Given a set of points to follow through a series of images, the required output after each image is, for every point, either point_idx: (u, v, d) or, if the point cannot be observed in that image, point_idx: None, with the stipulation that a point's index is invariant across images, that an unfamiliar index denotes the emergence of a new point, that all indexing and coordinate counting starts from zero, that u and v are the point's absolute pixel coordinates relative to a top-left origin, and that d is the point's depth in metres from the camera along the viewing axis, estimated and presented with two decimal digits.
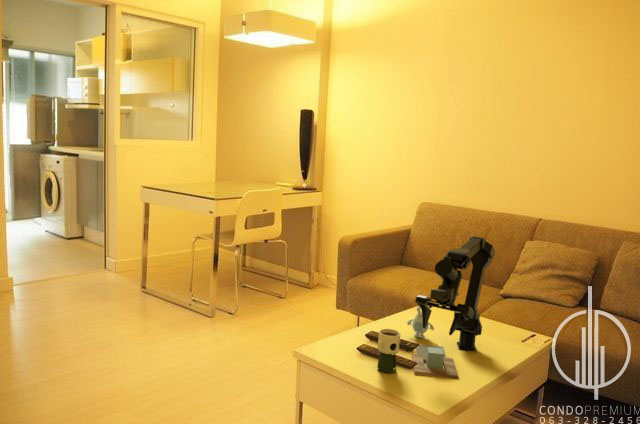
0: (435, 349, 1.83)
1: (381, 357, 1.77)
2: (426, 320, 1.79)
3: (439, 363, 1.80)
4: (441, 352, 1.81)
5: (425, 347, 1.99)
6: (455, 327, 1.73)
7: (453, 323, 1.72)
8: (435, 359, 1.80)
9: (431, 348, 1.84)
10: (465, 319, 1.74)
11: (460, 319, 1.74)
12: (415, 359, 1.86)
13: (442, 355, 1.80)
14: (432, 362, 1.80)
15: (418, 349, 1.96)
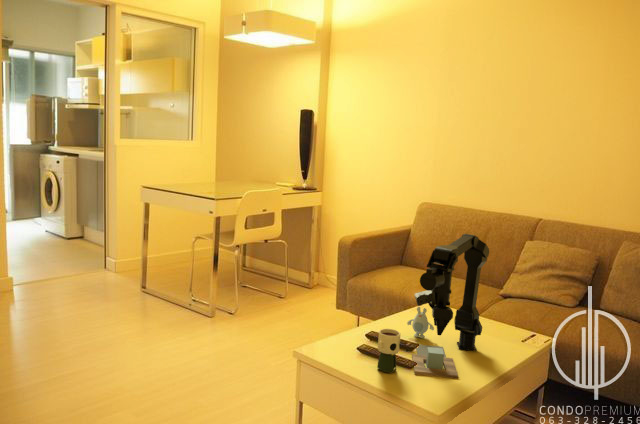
0: (435, 349, 1.83)
1: (381, 357, 1.77)
2: None
3: (439, 363, 1.80)
4: (441, 352, 1.81)
5: (425, 347, 1.99)
6: (440, 327, 1.75)
7: (436, 324, 1.76)
8: (435, 359, 1.80)
9: (431, 348, 1.84)
10: None
11: (444, 319, 1.74)
12: (415, 359, 1.86)
13: (442, 355, 1.80)
14: (432, 362, 1.80)
15: (418, 349, 1.96)
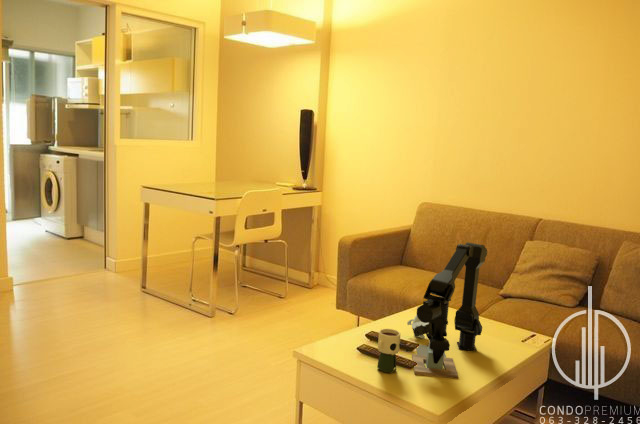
0: None
1: (381, 357, 1.77)
2: None
3: (439, 363, 1.80)
4: None
5: (425, 347, 1.99)
6: (437, 356, 1.79)
7: None
8: None
9: None
10: None
11: None
12: (415, 359, 1.86)
13: (442, 355, 1.80)
14: (432, 362, 1.80)
15: (418, 349, 1.96)
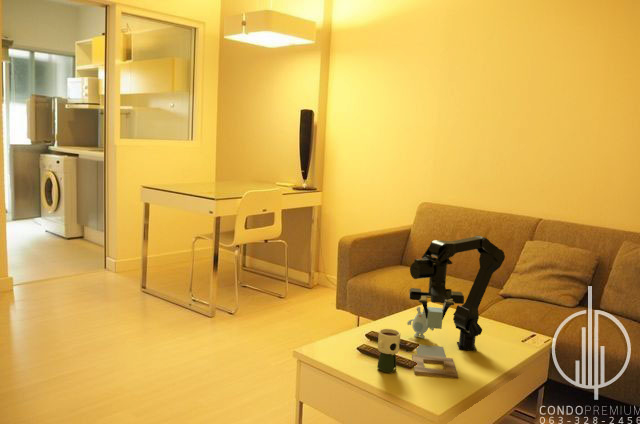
0: (432, 309, 1.93)
1: (381, 357, 1.77)
2: None
3: None
4: (438, 308, 1.94)
5: (425, 347, 1.99)
6: None
7: (444, 311, 1.91)
8: None
9: (431, 310, 1.92)
10: None
11: None
12: (415, 359, 1.86)
13: (441, 309, 1.94)
14: None
15: (418, 349, 1.96)
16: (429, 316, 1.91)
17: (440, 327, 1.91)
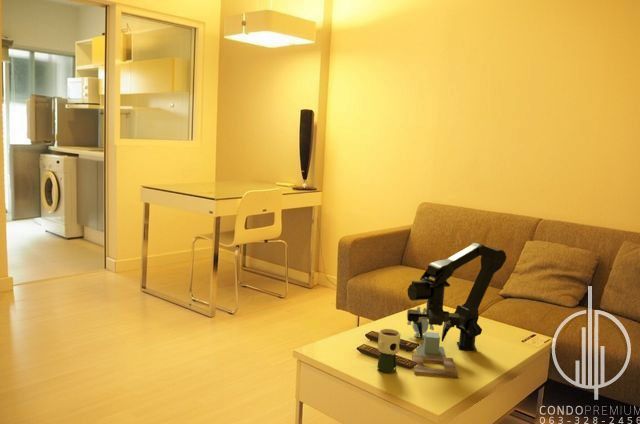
0: (429, 334, 1.95)
1: (381, 357, 1.77)
2: (421, 331, 1.95)
3: None
4: (435, 333, 1.97)
5: None
6: None
7: (445, 333, 1.93)
8: None
9: (428, 335, 1.94)
10: None
11: None
12: (415, 359, 1.86)
13: (438, 334, 1.97)
14: None
15: (418, 349, 1.96)
16: (426, 341, 1.93)
17: (437, 352, 1.93)
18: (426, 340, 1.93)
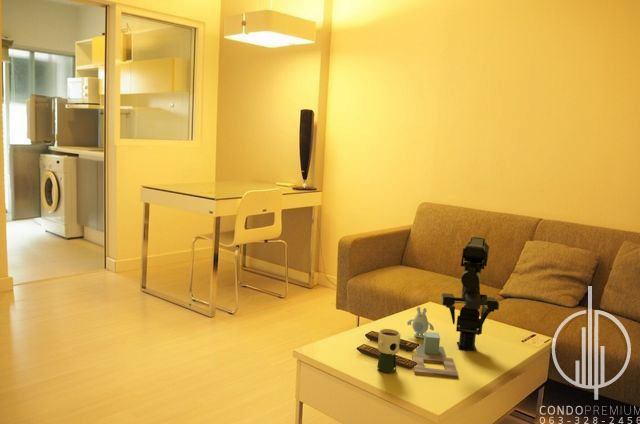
0: (429, 334, 1.95)
1: (381, 357, 1.77)
2: None
3: None
4: (435, 333, 1.97)
5: None
6: None
7: (484, 317, 1.86)
8: None
9: (428, 335, 1.94)
10: None
11: None
12: (415, 359, 1.86)
13: (438, 334, 1.97)
14: None
15: (418, 349, 1.96)
16: (426, 341, 1.93)
17: (437, 352, 1.93)
18: (426, 340, 1.93)
